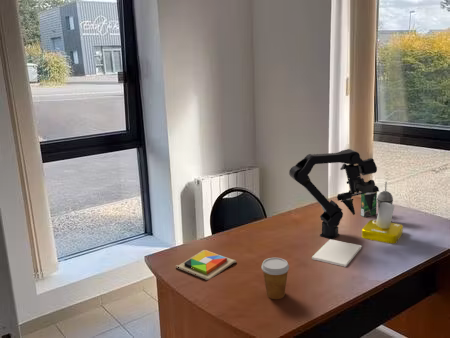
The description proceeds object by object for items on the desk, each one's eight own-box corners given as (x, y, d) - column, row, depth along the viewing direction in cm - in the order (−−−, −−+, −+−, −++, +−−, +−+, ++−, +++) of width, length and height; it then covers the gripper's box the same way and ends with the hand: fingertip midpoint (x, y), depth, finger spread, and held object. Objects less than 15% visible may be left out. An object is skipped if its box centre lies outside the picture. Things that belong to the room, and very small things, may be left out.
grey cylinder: (373, 222, 201) (378, 202, 198) (386, 222, 202) (391, 202, 198) (378, 228, 196) (383, 207, 192) (391, 228, 196) (396, 208, 193)
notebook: (311, 259, 180) (311, 256, 180) (329, 241, 196) (329, 239, 196) (345, 266, 172) (345, 264, 172) (361, 247, 188) (361, 245, 188)
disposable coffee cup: (286, 286, 160) (286, 256, 157) (291, 301, 151) (291, 268, 148) (260, 288, 160) (259, 257, 157) (263, 302, 150) (262, 270, 147)
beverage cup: (375, 224, 213) (377, 184, 208) (376, 218, 219) (378, 180, 214) (391, 225, 210) (393, 185, 205) (392, 220, 217) (394, 181, 212)
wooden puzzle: (174, 269, 178) (173, 261, 177) (206, 252, 191) (206, 245, 190) (206, 282, 166) (205, 273, 166) (237, 263, 180) (237, 255, 179)
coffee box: (363, 217, 221) (364, 192, 218) (359, 215, 224) (360, 191, 221) (376, 215, 224) (377, 190, 221) (372, 213, 227) (373, 188, 224)
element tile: (360, 238, 198) (360, 228, 197) (370, 227, 210) (370, 218, 209) (395, 245, 190) (395, 235, 189) (403, 233, 202) (404, 223, 201)
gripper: (347, 179, 185) (356, 216, 184) (382, 171, 192) (391, 206, 191) (332, 182, 196) (341, 217, 195) (366, 174, 202) (375, 208, 201)
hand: (362, 212), depth 195 cm, fingers open, 9 cm apart
